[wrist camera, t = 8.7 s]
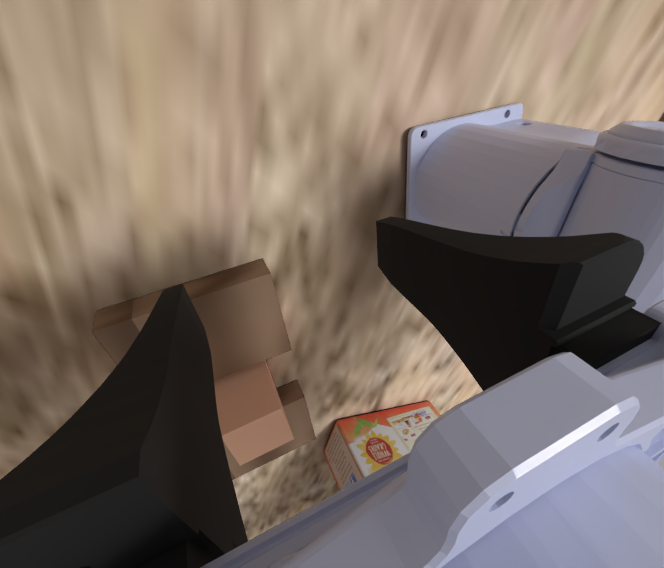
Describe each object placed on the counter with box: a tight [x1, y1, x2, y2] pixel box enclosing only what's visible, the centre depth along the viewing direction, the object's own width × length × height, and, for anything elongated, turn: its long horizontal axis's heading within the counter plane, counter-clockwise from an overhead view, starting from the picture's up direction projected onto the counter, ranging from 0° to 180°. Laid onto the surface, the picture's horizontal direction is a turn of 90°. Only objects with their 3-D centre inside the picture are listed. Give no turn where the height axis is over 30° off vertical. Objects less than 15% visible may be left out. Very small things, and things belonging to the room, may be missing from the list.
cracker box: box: [323, 401, 441, 491], centre depth 32 cm, size 14×6×21 cm, turn 74°
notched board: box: [92, 258, 316, 480], centre depth 26 cm, size 10×20×2 cm, turn 8°
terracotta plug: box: [214, 361, 294, 466], centre depth 24 cm, size 4×4×6 cm
